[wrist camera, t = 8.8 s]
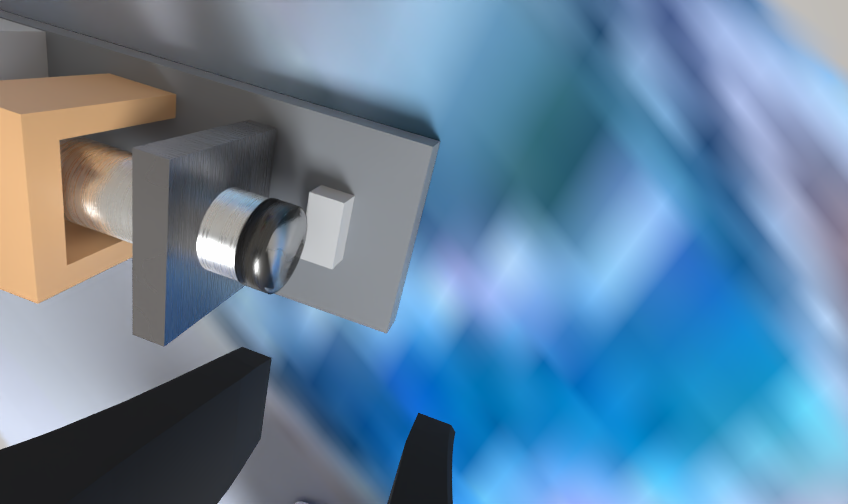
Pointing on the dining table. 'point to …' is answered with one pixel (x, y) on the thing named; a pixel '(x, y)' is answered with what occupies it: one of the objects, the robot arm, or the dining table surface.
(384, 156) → the rail
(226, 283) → the shaft
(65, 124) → the block
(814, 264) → the dining table surface
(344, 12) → the dining table surface
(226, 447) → the robot arm
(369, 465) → the dining table surface
